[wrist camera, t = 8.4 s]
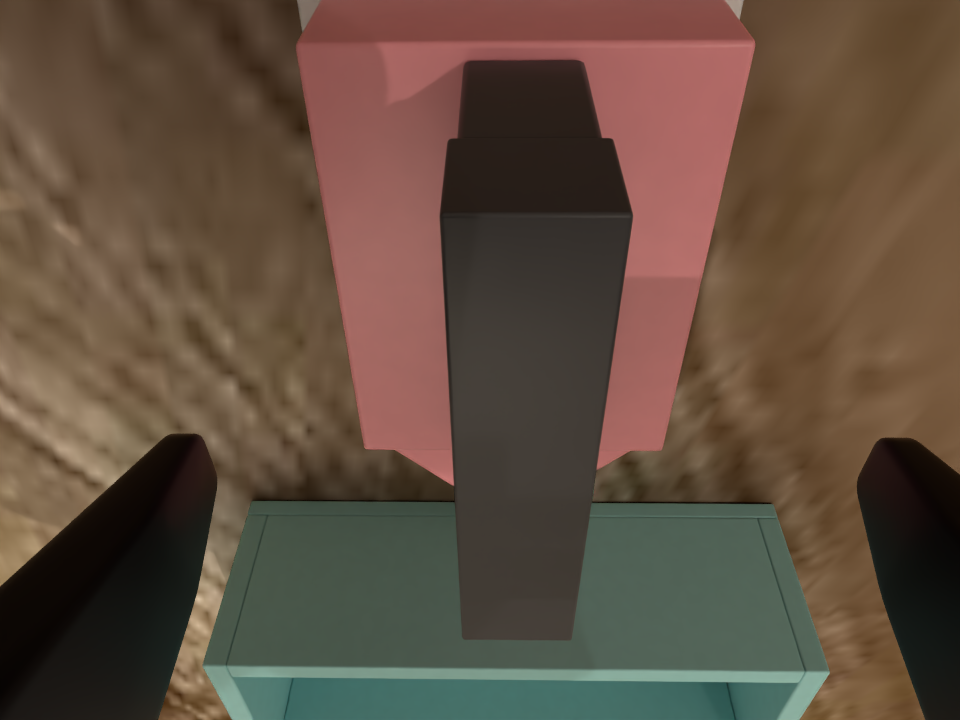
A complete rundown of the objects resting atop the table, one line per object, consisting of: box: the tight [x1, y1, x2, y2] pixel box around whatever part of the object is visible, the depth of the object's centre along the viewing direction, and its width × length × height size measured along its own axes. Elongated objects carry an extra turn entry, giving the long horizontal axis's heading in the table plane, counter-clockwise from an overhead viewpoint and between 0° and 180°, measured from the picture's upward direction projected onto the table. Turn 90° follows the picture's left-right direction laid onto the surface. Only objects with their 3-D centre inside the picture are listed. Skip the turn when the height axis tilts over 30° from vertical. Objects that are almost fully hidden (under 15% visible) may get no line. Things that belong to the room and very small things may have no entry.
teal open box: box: [203, 501, 830, 720], centre depth 22 cm, size 15×7×5 cm, turn 91°
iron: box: [296, 0, 755, 641], centre depth 13 cm, size 12×7×7 cm, turn 1°
